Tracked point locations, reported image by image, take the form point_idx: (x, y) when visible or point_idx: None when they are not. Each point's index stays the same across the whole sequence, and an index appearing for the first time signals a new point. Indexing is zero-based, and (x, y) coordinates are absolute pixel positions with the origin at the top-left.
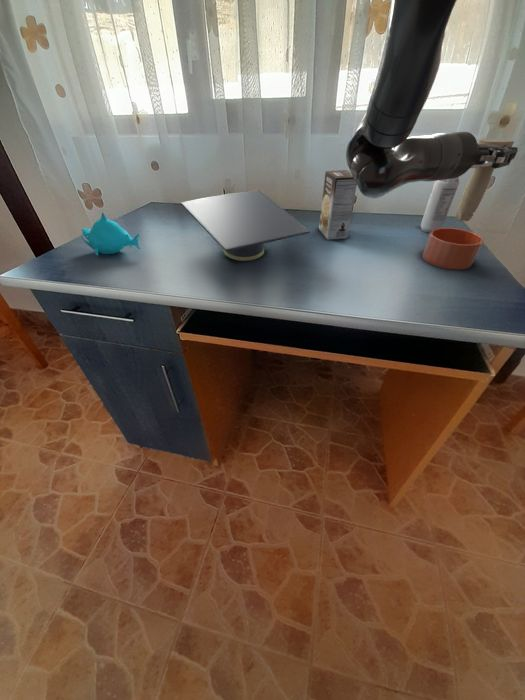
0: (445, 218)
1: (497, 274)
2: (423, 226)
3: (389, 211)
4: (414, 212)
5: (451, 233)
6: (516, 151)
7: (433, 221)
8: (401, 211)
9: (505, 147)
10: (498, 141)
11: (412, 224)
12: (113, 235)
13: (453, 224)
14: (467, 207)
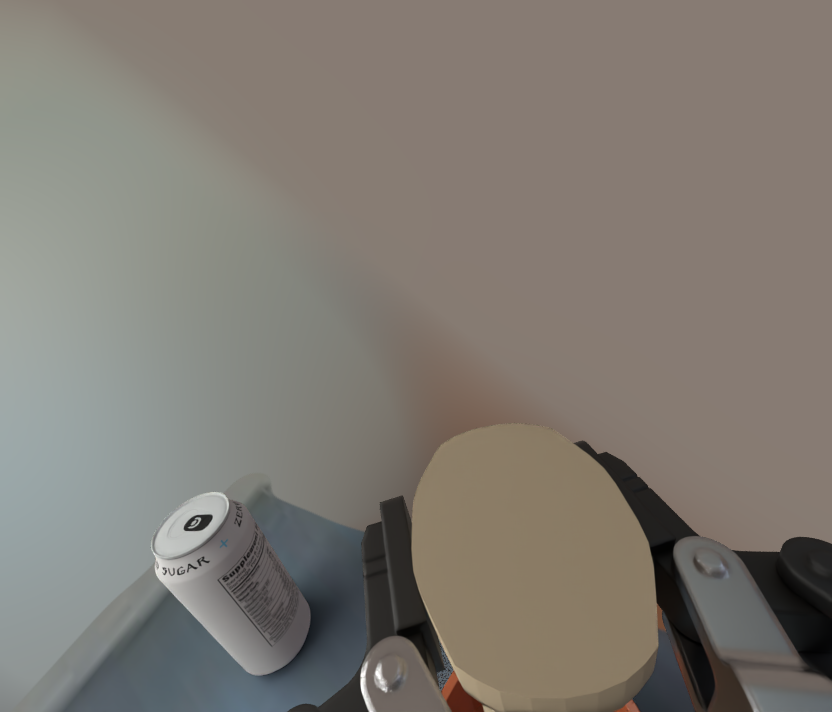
0: (295, 584)
1: (670, 661)
2: (261, 672)
3: (58, 675)
4: (150, 580)
5: (450, 708)
6: (629, 469)
7: (281, 640)
8: (105, 622)
9: (721, 564)
10: (594, 543)
11: (202, 668)
12: None
13: (290, 527)
14: None
